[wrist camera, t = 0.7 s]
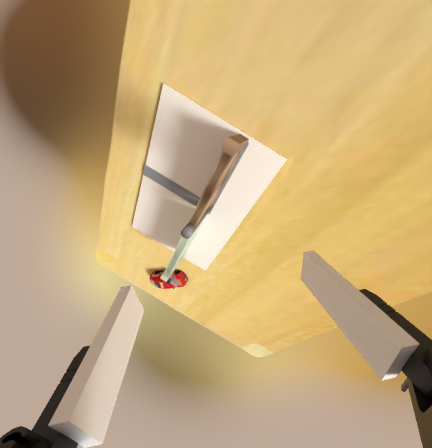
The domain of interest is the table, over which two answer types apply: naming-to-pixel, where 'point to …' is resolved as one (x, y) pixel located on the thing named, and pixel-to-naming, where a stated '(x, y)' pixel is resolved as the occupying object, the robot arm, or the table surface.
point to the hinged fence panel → (178, 255)
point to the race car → (169, 280)
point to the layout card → (197, 177)
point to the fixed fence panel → (215, 181)
